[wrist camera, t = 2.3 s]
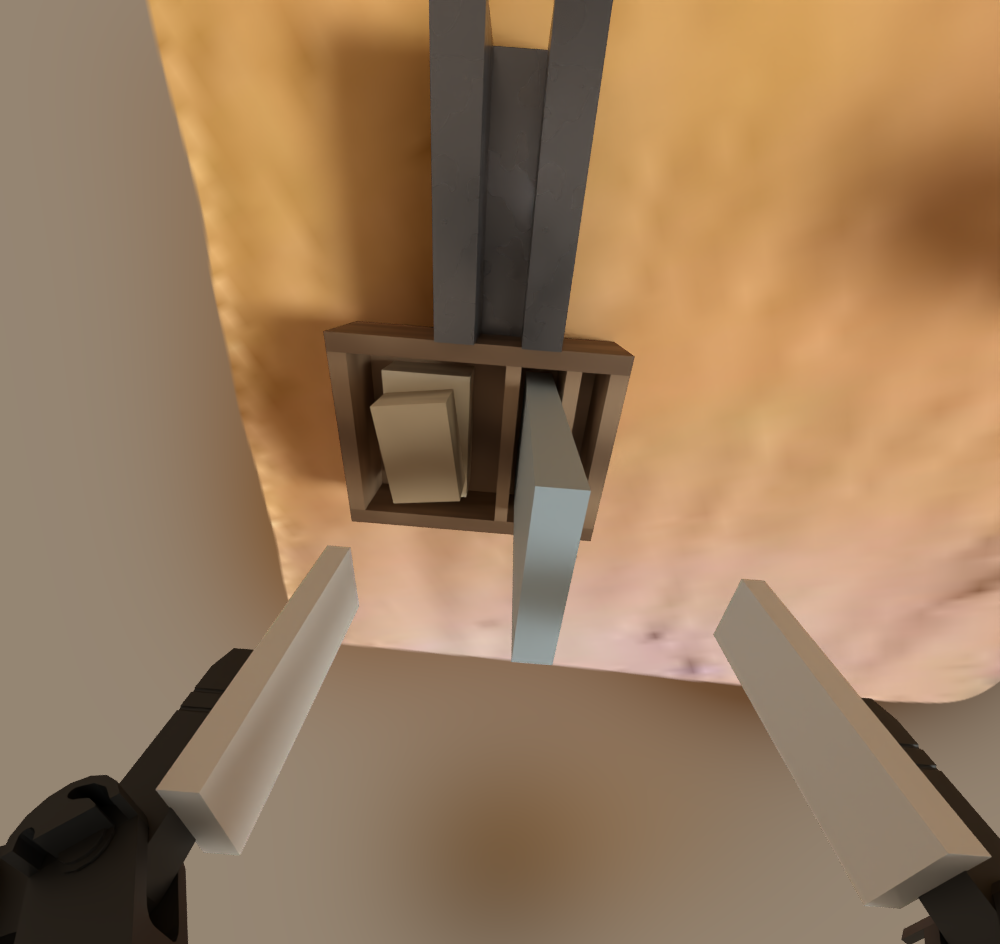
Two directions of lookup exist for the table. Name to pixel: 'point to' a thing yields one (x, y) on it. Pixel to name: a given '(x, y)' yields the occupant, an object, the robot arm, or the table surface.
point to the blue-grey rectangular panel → (544, 521)
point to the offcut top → (420, 445)
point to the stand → (510, 169)
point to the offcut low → (439, 378)
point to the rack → (496, 417)
